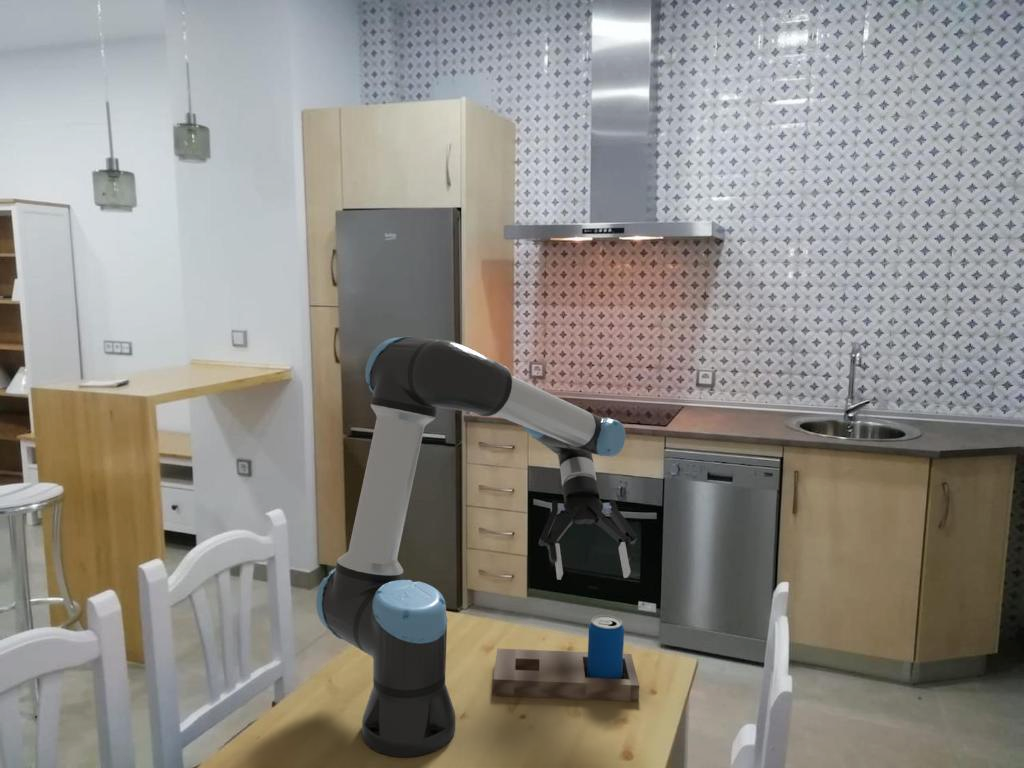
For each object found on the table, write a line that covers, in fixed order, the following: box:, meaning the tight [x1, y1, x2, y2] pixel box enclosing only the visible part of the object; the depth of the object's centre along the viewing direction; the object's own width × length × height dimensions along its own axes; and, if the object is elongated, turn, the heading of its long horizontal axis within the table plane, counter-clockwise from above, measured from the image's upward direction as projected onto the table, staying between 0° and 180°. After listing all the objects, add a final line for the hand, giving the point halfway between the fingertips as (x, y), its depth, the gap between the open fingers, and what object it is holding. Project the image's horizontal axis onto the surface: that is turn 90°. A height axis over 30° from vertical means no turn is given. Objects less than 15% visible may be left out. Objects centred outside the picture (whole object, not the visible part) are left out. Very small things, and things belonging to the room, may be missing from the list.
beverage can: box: [586, 614, 625, 679], centre depth 138 cm, size 6×6×12 cm
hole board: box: [492, 648, 640, 702], centre depth 139 cm, size 26×12×3 cm, turn 88°
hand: (593, 576), depth 147 cm, fingers open, 13 cm apart
